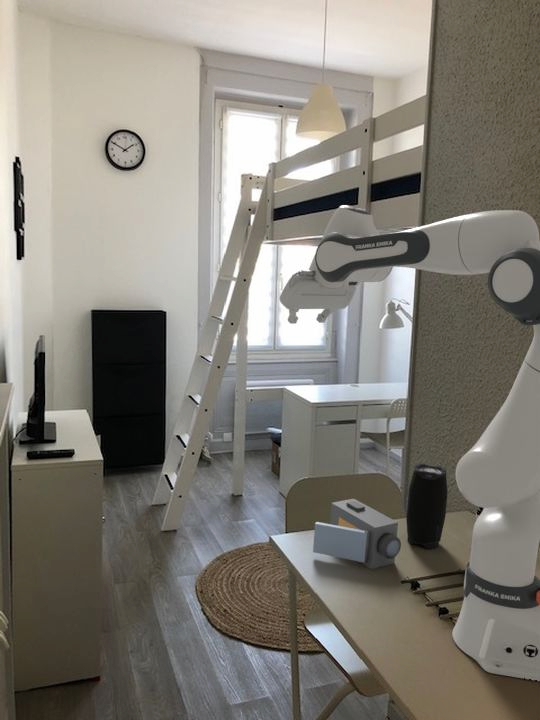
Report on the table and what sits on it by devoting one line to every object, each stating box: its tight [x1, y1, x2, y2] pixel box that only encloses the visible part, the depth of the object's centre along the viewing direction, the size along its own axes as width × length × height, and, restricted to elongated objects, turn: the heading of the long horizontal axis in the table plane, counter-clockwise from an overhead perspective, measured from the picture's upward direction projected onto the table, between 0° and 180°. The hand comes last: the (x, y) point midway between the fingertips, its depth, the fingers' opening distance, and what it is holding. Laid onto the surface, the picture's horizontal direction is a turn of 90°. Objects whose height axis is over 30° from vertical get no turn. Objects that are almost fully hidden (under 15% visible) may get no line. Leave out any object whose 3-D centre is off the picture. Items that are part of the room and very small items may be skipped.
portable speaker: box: [405, 463, 449, 550], centre depth 153 cm, size 9×9×20 cm
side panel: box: [312, 521, 370, 563], centre depth 140 cm, size 13×1×7 cm, turn 72°
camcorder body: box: [329, 498, 402, 570], centre depth 145 cm, size 19×7×11 cm, turn 32°
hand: (306, 321), depth 147 cm, fingers open, 8 cm apart
